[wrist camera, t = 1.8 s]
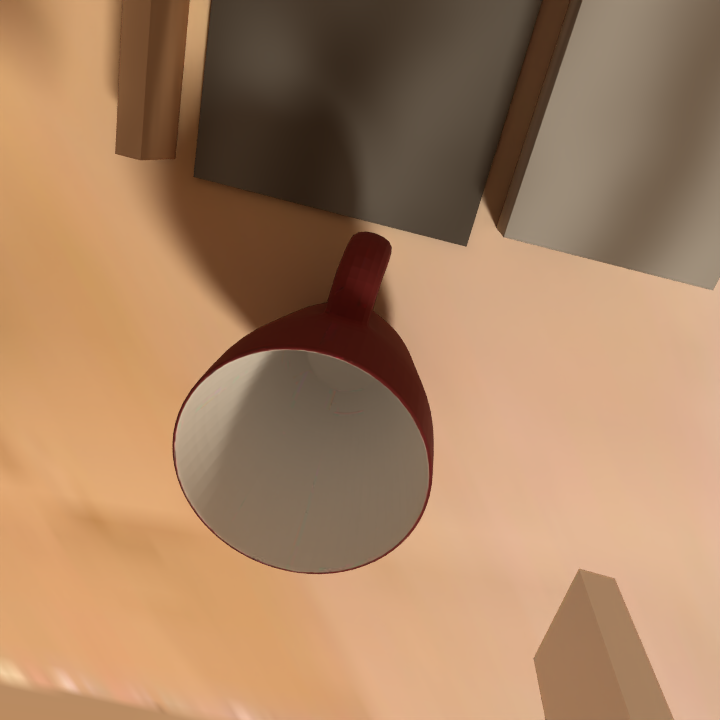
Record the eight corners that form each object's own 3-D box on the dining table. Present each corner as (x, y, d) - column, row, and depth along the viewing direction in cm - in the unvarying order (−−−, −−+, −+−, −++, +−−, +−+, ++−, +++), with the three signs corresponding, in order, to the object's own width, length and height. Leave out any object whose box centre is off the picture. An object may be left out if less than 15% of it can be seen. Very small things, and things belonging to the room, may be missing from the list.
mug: (273, 199, 23) (170, 232, 14) (459, 227, 23) (479, 282, 13) (258, 413, 27) (170, 549, 18) (416, 441, 27) (408, 596, 17)
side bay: (152, 164, 23) (114, 167, 21) (185, -290, 18) (140, -370, 15) (673, 298, 23) (706, 319, 20) (876, -129, 17) (962, -183, 14)
